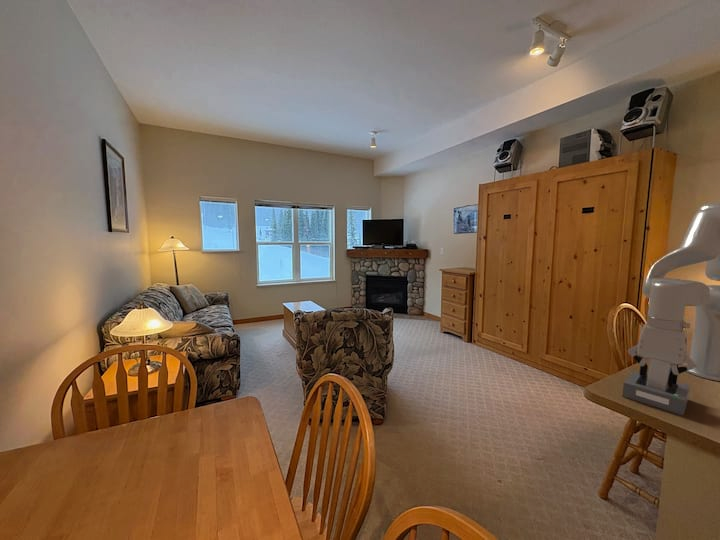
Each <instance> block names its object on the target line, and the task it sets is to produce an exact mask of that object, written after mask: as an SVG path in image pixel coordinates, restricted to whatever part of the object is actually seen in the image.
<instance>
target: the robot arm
mask: <svg viewBox="0 0 720 540" xmlns="http://www.w3.org/2000/svg"><path fill="white" fill-rule="evenodd" d="M704 262H706V263H705V272H704V273H705V276H706V278H708V279H709V280H711V281H716V282H720V201H715V202H708V203H705V204H702V205H700V206H699V207H698V210H697V212H696V213H695V214H694V215H693V217H692V219H691V221H690V223H689V226H688V228H687V230H686V232H685V233H684V237H683V238H682V240H681V243H680V246H679V248H677V249H675V250H673V251H671V252H668V253H666V254H665V255H664V256H662V257H661V258H659V259H658V260H656V262H654V263H653V264H652V265H651V267H650V268H649V270H648V273H647V275H646V276H645V278H644V281H643V283H642V294H643V296H644V297H645V298H646V299H648V300H649V301H648V310H647V319H646V323H644V324H643V325H642V328H641V331H640V335H639V339H638V343H637V344H636V345H634V346H633V347H631V348H629V349H628V350H627V353H628V355H630V356H631V357H633V359H634V360H635V362H637V363H638V364H639V368H640V369H639V372H640V375H642V379H643V380H644V379H646V377H647V374H648V371H649V369H648V368H649V365H648V364H647V362H648V361H649V360H651V359H652V358H654V359H658V360H662V361H666V362H669V363H671V369H672V371H671V373H670V378H669V387H672V386H673V384H676V383H677V382H678V376H679V374H682V373H685V372H687V373H689V374H691V375H693V376H696V377H700V378H703V379H707V380H712V381H718V382H720V285H719V284H718V285H717V284H707V285H706V284H705V283H703V282H702V281H697V280H688V279H681V278H674V277H673V278H672V277H665V276H666V275H668V274H669V273H670V272H672V271H674V270H676V269H679V268H683V267H686V266H692V265H696V264H697V265H698V264H700V263H704ZM686 307H694V308H695V309H694V311H695V314H694V315H695V316H694V317H695V318H694V323H693V324H694V325H693V332H692V340H691V341H692V342H691V348H690V355H688V354H687V347H688V337H687V336H688V335H687V331H686V330H685V329H691V323H689V322H686V321H684V320H685V319H684V317H685V310H686ZM684 362H685V363H684Z"/></svg>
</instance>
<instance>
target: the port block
mask: <svg viewBox="0 0 720 540" xmlns="http://www.w3.org/2000/svg"><path fill="white" fill-rule="evenodd" d="M648 374H649V373H647V377H646V379H644V380H643V379H642V375H640V371H638V370H633V371H631V373H630V374H629V375H628V376H627V378H626V379H625V380H624V382H623V388H622V394H621V395H622V397H623V398H626V399H628V400H631V401H636V402H638V403H642V404H644V405H648V406H651V407H654V408H657V409H661V410H663V411H667V412H670V413H672V414H676V415H679V416H684V414H685V412H686V408H687V405H688V402H689V398H690V397H689V396H690V389H691V385H690V384H686V383H682V382H679V381H677V383H676V384H673V386H672V387H668V392H665V391H661V390H658V389H654V388H651V387H647V386H646V383H647V379H648Z"/></svg>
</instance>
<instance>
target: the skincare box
mask: <svg viewBox="0 0 720 540" xmlns="http://www.w3.org/2000/svg"><path fill="white" fill-rule="evenodd" d="M671 371H672V369H671V363H669V362H666V361H662V360H658V359H654V358H652V359H650V365H649V369H648V373H647V374H648V379H647V383H646V386H647V387H651V388H654V389H658V390H661V391H665V392H668V387H669V378H670V373H671Z"/></svg>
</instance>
